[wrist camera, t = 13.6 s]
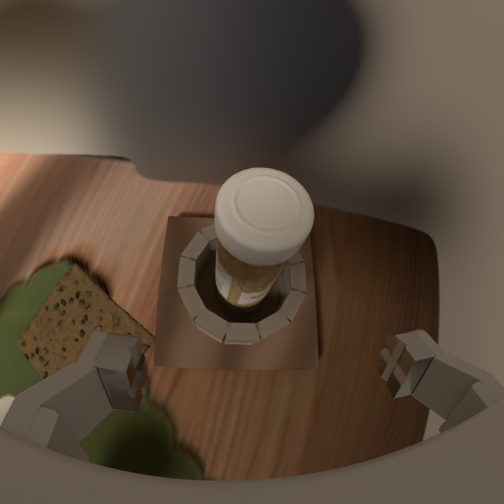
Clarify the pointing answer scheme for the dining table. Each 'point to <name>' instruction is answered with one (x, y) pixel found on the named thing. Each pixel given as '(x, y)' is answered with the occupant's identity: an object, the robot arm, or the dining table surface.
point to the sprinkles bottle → (257, 234)
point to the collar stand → (224, 321)
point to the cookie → (74, 323)
